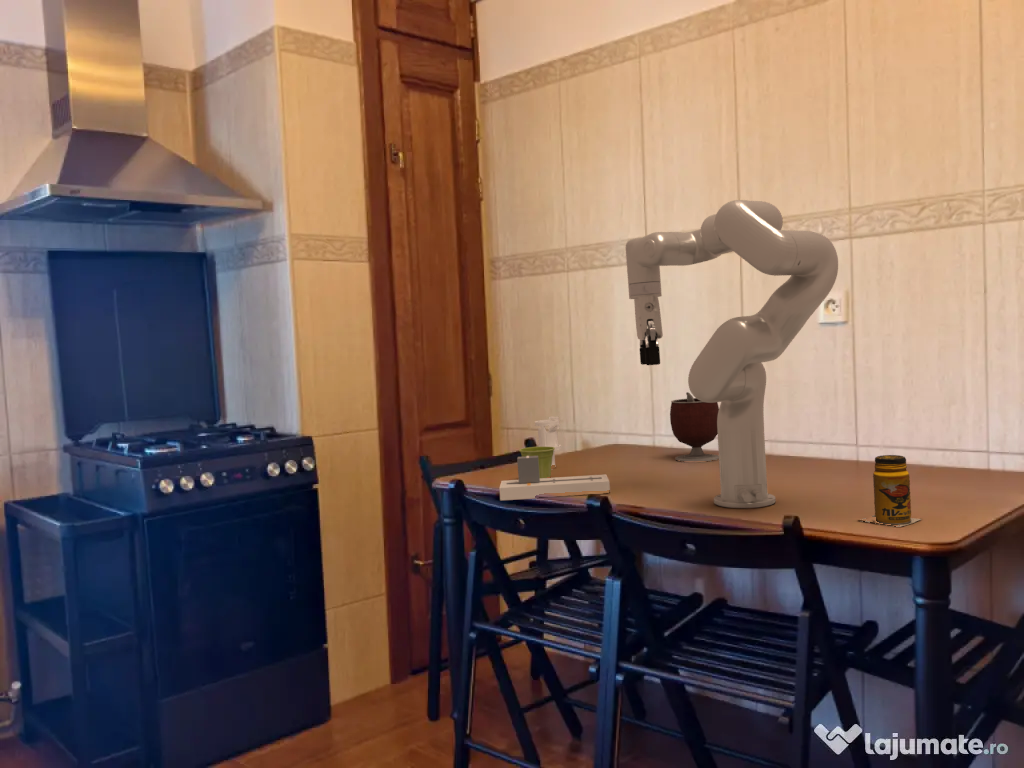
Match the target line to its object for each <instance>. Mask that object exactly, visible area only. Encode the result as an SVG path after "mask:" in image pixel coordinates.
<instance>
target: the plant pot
mask: <svg viewBox="0 0 1024 768" xmlns="http://www.w3.org/2000/svg"><path fill="white" fill-rule="evenodd" d="M554 449H555V448H554V447H536V446H529V447H524V448H520V449H518V451H519V452H520V454H521V457H525V456H538V461H539V476H540V478H547V477H550V476H552V469H551V466H552V456H553V451H554Z"/></svg>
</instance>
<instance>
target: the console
mask: <svg viewBox="0 0 1024 768" xmlns="http://www.w3.org/2000/svg"><path fill="white" fill-rule="evenodd" d="M500 482H501V483H500V485H499V501H513V500H531V499H536V498H535V496H536V495H539V494H544V493H565V492H582V491H607V490H610V491H611V485H610V484H611V483H610V479H609V477H608V476H607V474H605V473H604V474H591V475H577V476H576V475H575V476H573V475H572V476H561V477H560V476H556V477H551V478H540V482H534V483H519V479H510V480H509V479H508V480H501V481H500Z"/></svg>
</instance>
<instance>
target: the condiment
mask: <svg viewBox="0 0 1024 768" xmlns="http://www.w3.org/2000/svg"><path fill="white" fill-rule="evenodd" d="M907 468H908V465H907V459H906V457H905V456H903V455H898V454H886V455H884V454H883V455H878V456H875V458H874V471H873V474H872V475H873V476H872V477H873V479H872V480H873V497H874V498H873V499H874V500H873V501H874V502H873V503H874V514H873V515H871V516H872V517H876V521H877V522H879V523H883V524H891V525H898V526H896V527H897V528H901V527H903V526H908V525H911V524H913V523H917V522H918V521H921V520H922V518H915V517H914V518H912V505H911V503H912V499H911V488H910V485H911V482H910V481H911V480H910V479H911V478H910V473H909V471H908V469H907ZM866 518H867V517H866ZM866 518H865V517H864V518H862V520H863V519H866ZM865 523H870V521H867V520H866V521H865ZM899 525H900V526H899ZM896 527H895V528H896Z"/></svg>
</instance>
